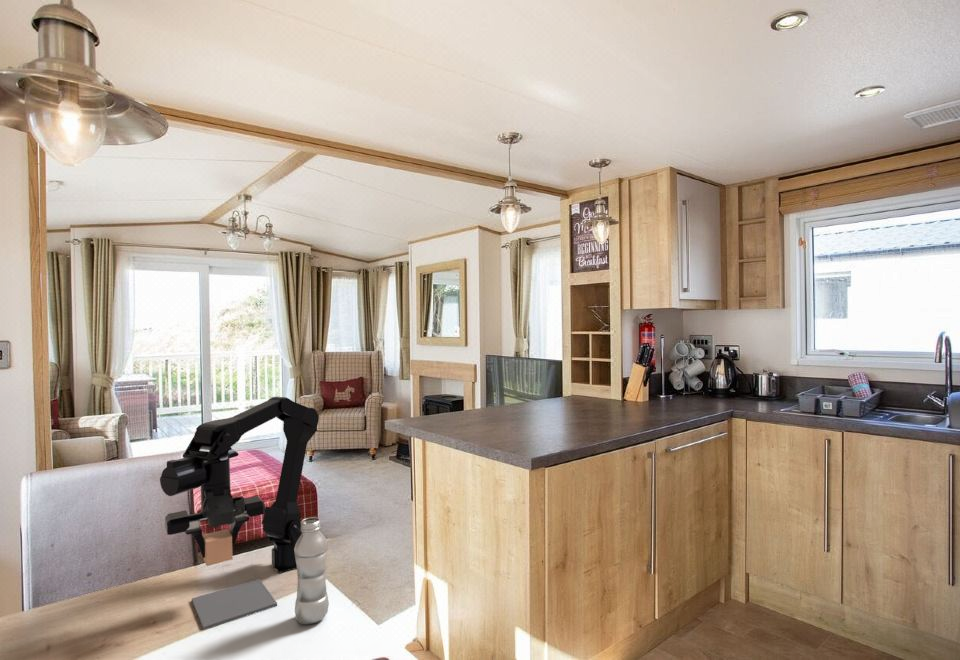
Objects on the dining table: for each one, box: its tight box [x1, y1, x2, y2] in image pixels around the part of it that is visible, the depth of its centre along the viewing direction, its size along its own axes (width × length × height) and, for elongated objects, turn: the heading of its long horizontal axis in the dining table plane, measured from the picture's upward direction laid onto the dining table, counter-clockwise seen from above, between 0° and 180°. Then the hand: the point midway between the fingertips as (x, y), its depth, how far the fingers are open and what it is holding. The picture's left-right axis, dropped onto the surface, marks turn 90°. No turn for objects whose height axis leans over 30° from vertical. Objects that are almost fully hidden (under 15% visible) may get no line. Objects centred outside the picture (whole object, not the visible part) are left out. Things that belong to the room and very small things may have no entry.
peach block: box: [202, 528, 234, 567], centre depth 112 cm, size 5×5×5 cm
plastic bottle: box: [294, 516, 330, 625], centre depth 105 cm, size 6×7×20 cm
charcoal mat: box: [191, 578, 278, 631], centre depth 111 cm, size 14×14×1 cm
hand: (217, 553), depth 112 cm, fingers closed on peach block, 5 cm apart
